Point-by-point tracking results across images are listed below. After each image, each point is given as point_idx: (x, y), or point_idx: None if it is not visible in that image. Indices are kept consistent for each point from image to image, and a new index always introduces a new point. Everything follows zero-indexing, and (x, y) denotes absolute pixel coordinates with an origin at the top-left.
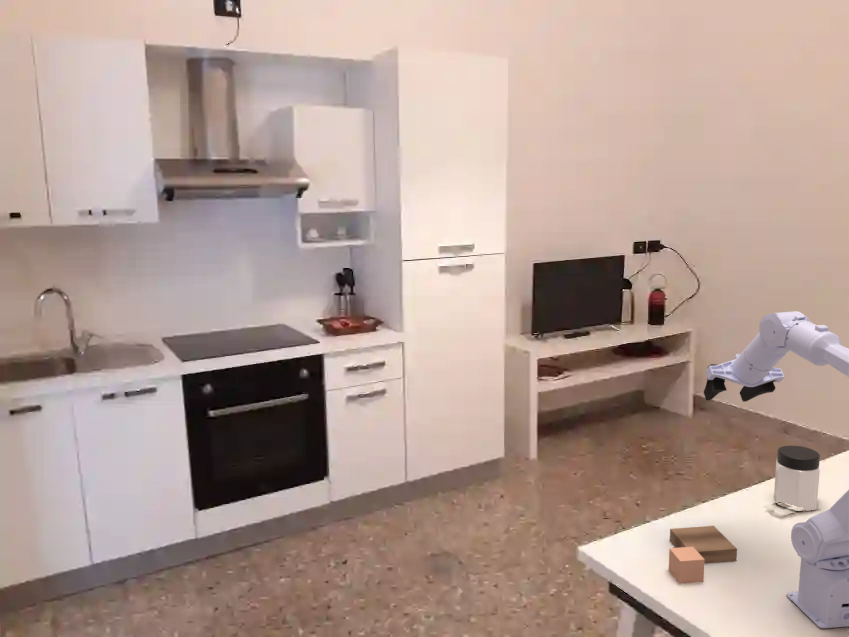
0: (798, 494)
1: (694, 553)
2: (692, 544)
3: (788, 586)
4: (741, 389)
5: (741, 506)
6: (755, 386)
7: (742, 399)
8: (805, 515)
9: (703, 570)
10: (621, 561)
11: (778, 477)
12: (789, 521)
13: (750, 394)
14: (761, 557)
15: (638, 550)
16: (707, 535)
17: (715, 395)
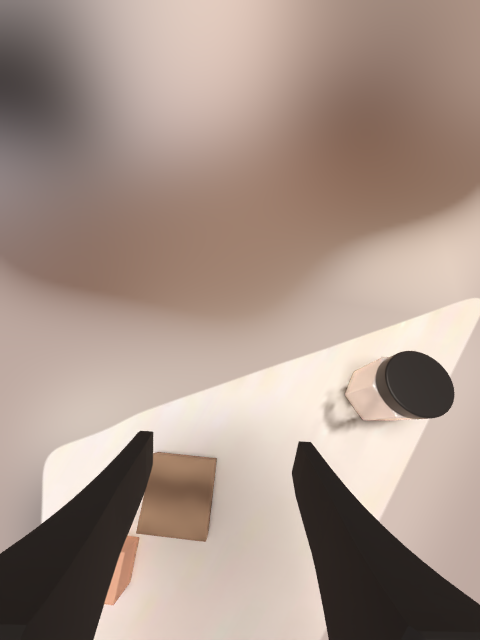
0: (375, 418)
1: (112, 577)
2: (153, 509)
3: (235, 633)
4: (305, 455)
5: (298, 386)
6: (338, 608)
7: (293, 470)
8: (369, 430)
9: (121, 593)
10: (65, 492)
11: (362, 389)
12: (339, 441)
13: (311, 537)
14: (247, 532)
15: (104, 468)
16: (189, 487)
17: (125, 535)
